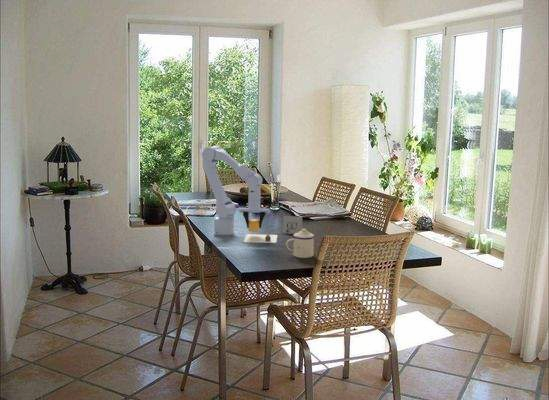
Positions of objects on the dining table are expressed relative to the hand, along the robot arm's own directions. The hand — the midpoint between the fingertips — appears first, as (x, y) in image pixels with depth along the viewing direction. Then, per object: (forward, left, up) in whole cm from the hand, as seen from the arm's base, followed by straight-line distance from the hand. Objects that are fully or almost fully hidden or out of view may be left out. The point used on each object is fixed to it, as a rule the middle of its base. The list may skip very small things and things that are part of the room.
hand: (254, 227), depth 286 cm
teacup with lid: (+22, -30, -6) cm, 38 cm away
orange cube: (0, 0, -1) cm, 1 cm away
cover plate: (+4, -4, -5) cm, 7 cm away
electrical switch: (+18, +10, -6) cm, 21 cm away
